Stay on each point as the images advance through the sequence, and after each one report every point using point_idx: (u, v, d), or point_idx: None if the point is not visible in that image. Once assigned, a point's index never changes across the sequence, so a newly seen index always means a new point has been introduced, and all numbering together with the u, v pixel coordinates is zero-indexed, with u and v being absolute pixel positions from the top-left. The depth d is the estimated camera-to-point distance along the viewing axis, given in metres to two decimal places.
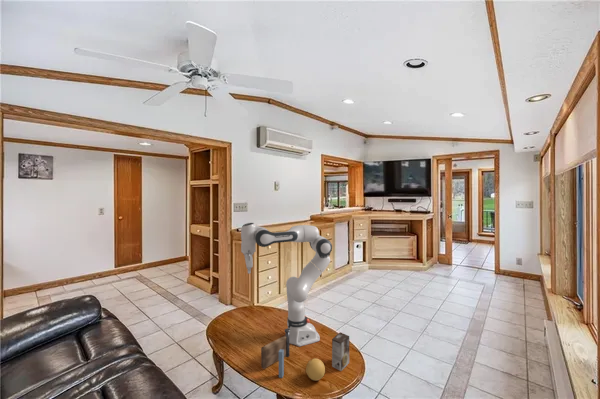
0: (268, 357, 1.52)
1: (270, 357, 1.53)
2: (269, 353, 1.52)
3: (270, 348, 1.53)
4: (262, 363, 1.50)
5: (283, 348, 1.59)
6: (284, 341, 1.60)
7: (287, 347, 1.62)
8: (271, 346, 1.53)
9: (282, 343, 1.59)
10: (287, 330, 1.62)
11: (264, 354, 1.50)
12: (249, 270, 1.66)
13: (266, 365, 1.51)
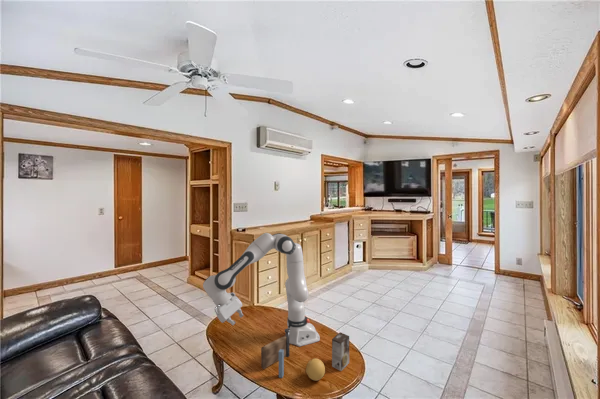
0: (268, 357, 1.52)
1: (270, 357, 1.53)
2: (269, 353, 1.52)
3: (270, 348, 1.53)
4: (262, 363, 1.50)
5: (283, 348, 1.59)
6: (284, 341, 1.60)
7: (287, 347, 1.62)
8: (271, 346, 1.53)
9: (282, 343, 1.59)
10: (287, 330, 1.62)
11: (264, 354, 1.50)
12: (231, 322, 1.51)
13: (266, 365, 1.51)
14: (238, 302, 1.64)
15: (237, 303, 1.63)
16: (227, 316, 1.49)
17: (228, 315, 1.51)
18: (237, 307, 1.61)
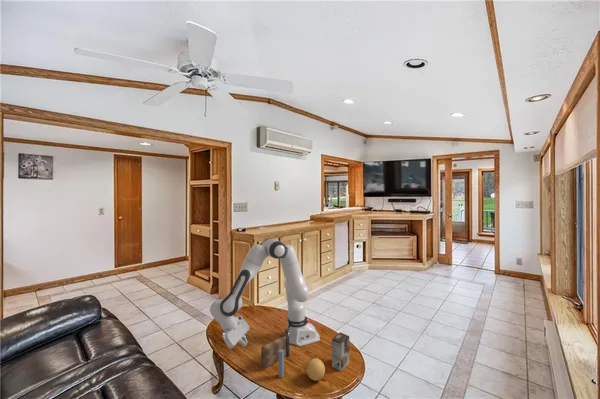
0: (268, 357, 1.52)
1: (270, 357, 1.53)
2: (269, 353, 1.52)
3: (270, 348, 1.53)
4: (262, 363, 1.50)
5: (283, 348, 1.59)
6: (284, 341, 1.60)
7: (287, 347, 1.62)
8: (271, 346, 1.53)
9: (282, 343, 1.59)
10: (287, 330, 1.62)
11: (264, 354, 1.50)
12: (242, 343, 1.54)
13: (266, 365, 1.51)
14: (245, 325, 1.64)
15: (244, 326, 1.62)
16: (235, 342, 1.49)
17: (236, 341, 1.50)
18: (245, 331, 1.60)
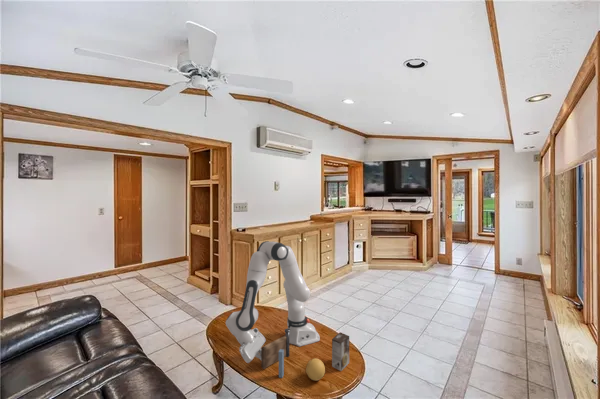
0: (268, 357, 1.52)
1: (270, 357, 1.53)
2: (269, 353, 1.52)
3: (270, 348, 1.52)
4: (262, 363, 1.50)
5: (283, 348, 1.59)
6: (284, 341, 1.60)
7: (287, 347, 1.62)
8: (271, 346, 1.53)
9: (282, 343, 1.59)
10: (287, 330, 1.62)
11: (264, 354, 1.49)
12: (259, 357, 1.52)
13: (266, 365, 1.51)
14: (261, 338, 1.61)
15: (260, 339, 1.60)
16: (252, 356, 1.46)
17: (253, 355, 1.47)
18: (261, 344, 1.57)
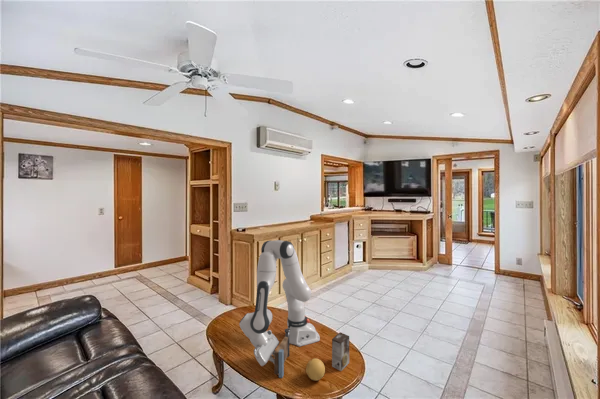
0: None
1: None
2: None
3: None
4: (276, 369, 1.45)
5: (286, 349, 1.59)
6: (287, 341, 1.59)
7: None
8: None
9: (286, 344, 1.58)
10: (287, 330, 1.62)
11: (278, 359, 1.45)
12: (273, 360, 1.48)
13: None
14: (275, 340, 1.58)
15: (274, 341, 1.57)
16: (267, 359, 1.44)
17: (267, 357, 1.45)
18: (275, 346, 1.55)
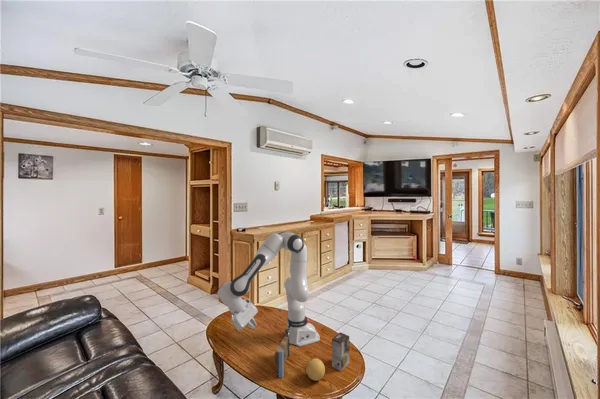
0: None
1: None
2: None
3: None
4: (276, 369, 1.45)
5: (286, 349, 1.59)
6: (287, 341, 1.59)
7: None
8: None
9: (286, 344, 1.58)
10: (287, 330, 1.62)
11: (278, 359, 1.45)
12: (251, 326, 1.52)
13: None
14: (253, 308, 1.61)
15: (253, 309, 1.60)
16: (244, 324, 1.46)
17: (245, 322, 1.48)
18: (253, 314, 1.58)
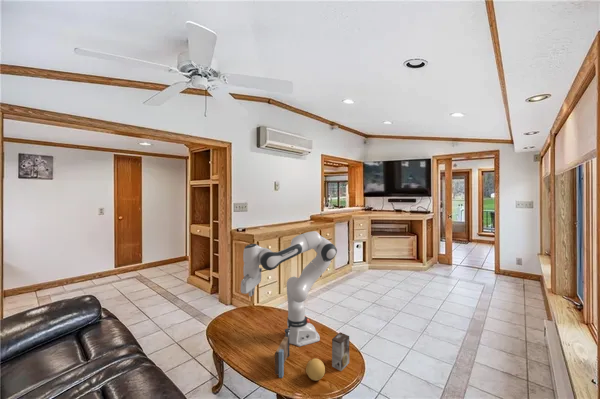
0: None
1: None
2: None
3: None
4: (276, 369, 1.45)
5: (286, 349, 1.59)
6: (287, 341, 1.59)
7: None
8: None
9: (286, 344, 1.58)
10: (287, 330, 1.62)
11: (278, 359, 1.45)
12: (250, 293, 1.58)
13: None
14: (259, 278, 1.67)
15: (258, 279, 1.65)
16: (248, 291, 1.52)
17: (249, 290, 1.53)
18: (257, 283, 1.63)
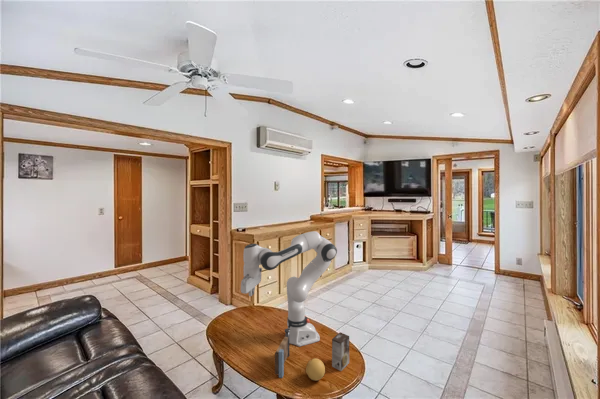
0: None
1: None
2: None
3: None
4: (276, 369, 1.45)
5: (286, 349, 1.59)
6: (287, 341, 1.59)
7: None
8: None
9: (286, 344, 1.58)
10: (287, 330, 1.62)
11: (278, 359, 1.45)
12: (250, 293, 1.58)
13: None
14: (259, 278, 1.67)
15: (258, 279, 1.66)
16: (248, 290, 1.52)
17: (249, 290, 1.53)
18: (257, 283, 1.63)
